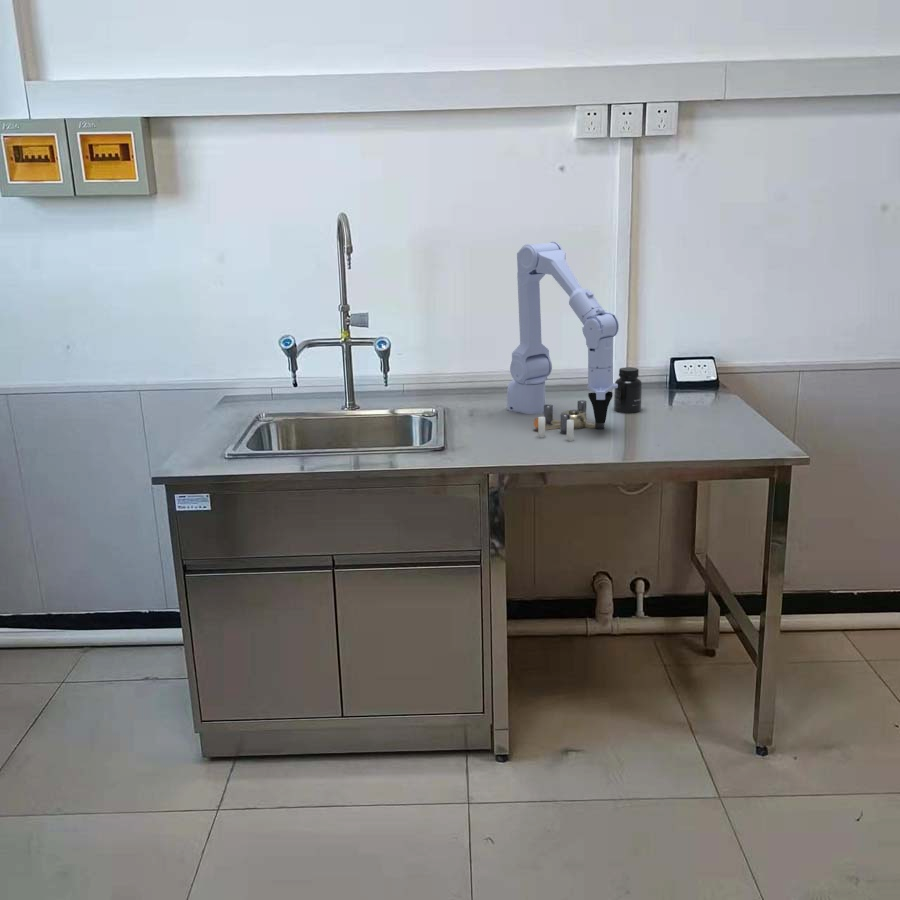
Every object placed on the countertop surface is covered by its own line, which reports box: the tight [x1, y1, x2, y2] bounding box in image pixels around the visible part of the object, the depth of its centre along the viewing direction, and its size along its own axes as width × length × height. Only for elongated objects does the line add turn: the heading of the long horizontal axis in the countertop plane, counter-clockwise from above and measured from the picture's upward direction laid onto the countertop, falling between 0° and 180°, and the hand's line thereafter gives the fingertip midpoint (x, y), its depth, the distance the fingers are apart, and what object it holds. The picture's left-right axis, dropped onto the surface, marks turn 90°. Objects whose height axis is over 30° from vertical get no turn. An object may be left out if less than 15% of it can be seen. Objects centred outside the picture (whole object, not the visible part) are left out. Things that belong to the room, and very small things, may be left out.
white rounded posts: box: [537, 415, 575, 442], centre depth 206 cm, size 9×6×5 cm
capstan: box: [533, 399, 605, 435], centre depth 214 cm, size 16×16×4 cm
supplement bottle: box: [613, 367, 643, 415], centre depth 225 cm, size 7×7×12 cm
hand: (600, 422), depth 210 cm, fingers closed, pressing on capstan
